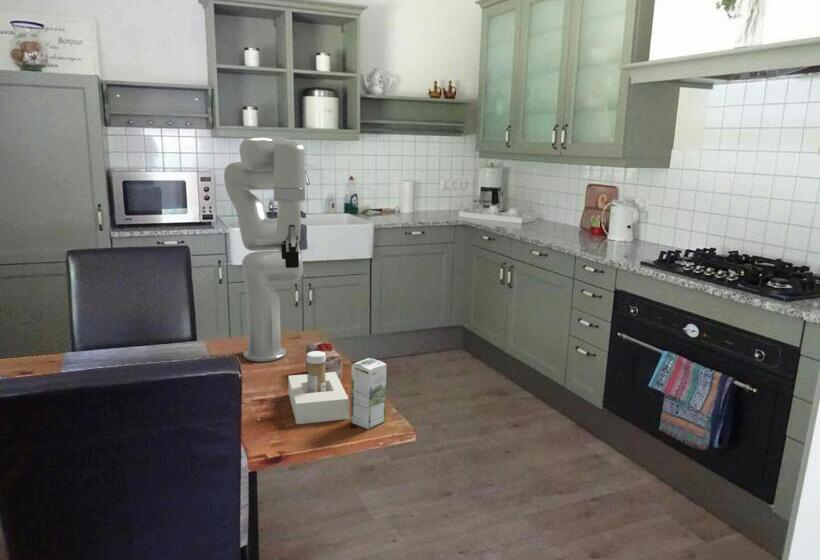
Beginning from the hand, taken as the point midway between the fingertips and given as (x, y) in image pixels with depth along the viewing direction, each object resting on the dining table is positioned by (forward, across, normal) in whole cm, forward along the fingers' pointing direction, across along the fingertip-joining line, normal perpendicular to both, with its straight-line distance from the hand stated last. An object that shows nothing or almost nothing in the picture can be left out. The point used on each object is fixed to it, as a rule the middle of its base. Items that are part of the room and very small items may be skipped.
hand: (290, 263), depth 154 cm
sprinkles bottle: (+33, +15, +5) cm, 36 cm away
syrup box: (+32, +27, +15) cm, 44 cm away
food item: (+34, -4, +9) cm, 35 cm away
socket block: (+32, +15, +5) cm, 36 cm away
